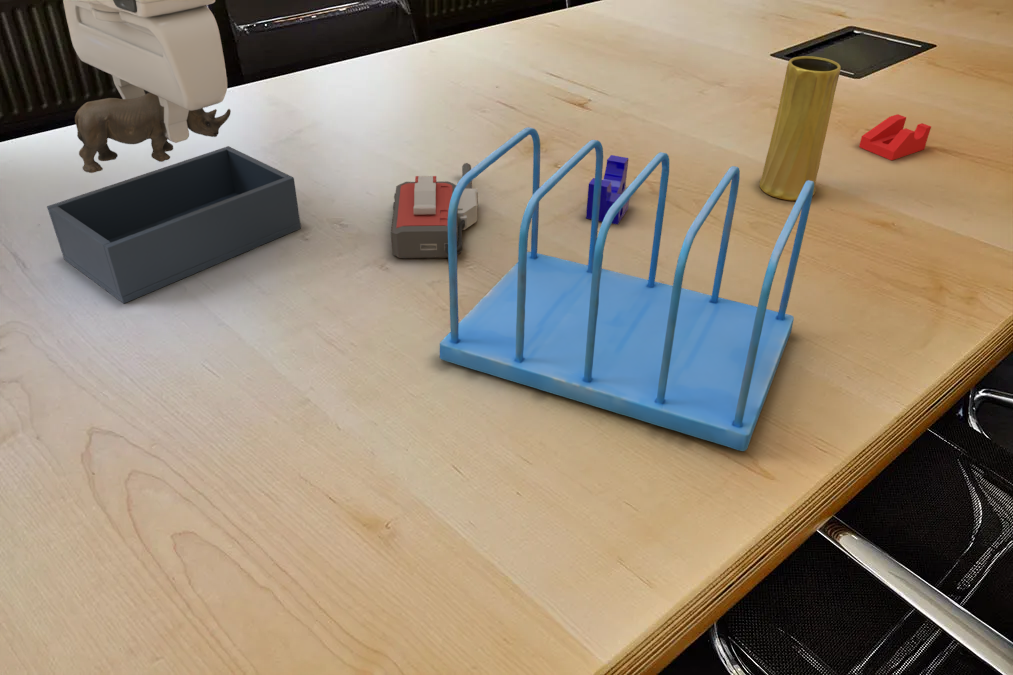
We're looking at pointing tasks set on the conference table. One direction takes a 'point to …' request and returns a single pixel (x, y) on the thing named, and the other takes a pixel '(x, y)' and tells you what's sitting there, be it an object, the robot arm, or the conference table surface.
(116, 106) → the rhino figurine
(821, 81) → the vase
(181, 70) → the robot arm
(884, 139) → the bracket
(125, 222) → the bin
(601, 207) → the cable holder
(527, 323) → the file sorter
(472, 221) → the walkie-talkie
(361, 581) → the conference table surface
